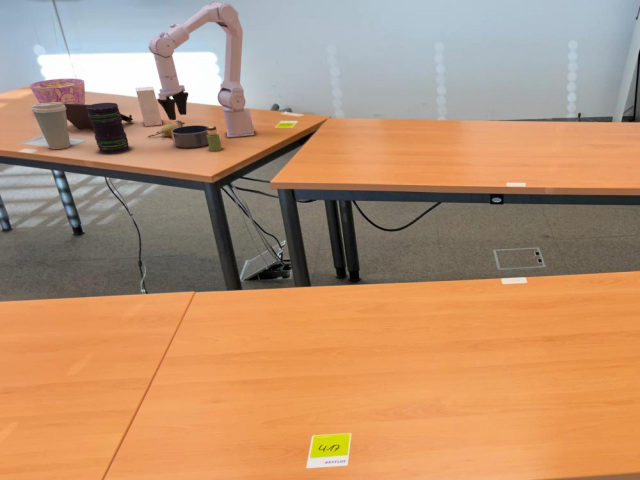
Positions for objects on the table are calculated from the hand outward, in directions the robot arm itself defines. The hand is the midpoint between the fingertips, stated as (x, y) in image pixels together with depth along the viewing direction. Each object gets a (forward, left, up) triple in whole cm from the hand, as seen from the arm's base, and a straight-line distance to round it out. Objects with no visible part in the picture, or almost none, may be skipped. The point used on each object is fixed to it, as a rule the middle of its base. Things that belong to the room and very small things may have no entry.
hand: (178, 117), depth 255 cm
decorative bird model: (+6, -16, -10) cm, 19 cm away
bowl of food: (+45, -73, -10) cm, 86 cm away
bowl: (-3, -1, -10) cm, 10 cm away
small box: (+11, -39, -10) cm, 42 cm away
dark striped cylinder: (+23, -2, -10) cm, 25 cm away
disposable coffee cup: (+41, -14, -10) cm, 44 cm away
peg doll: (-10, +10, -10) cm, 17 cm away
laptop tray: (+31, -41, -10) cm, 52 cm away
